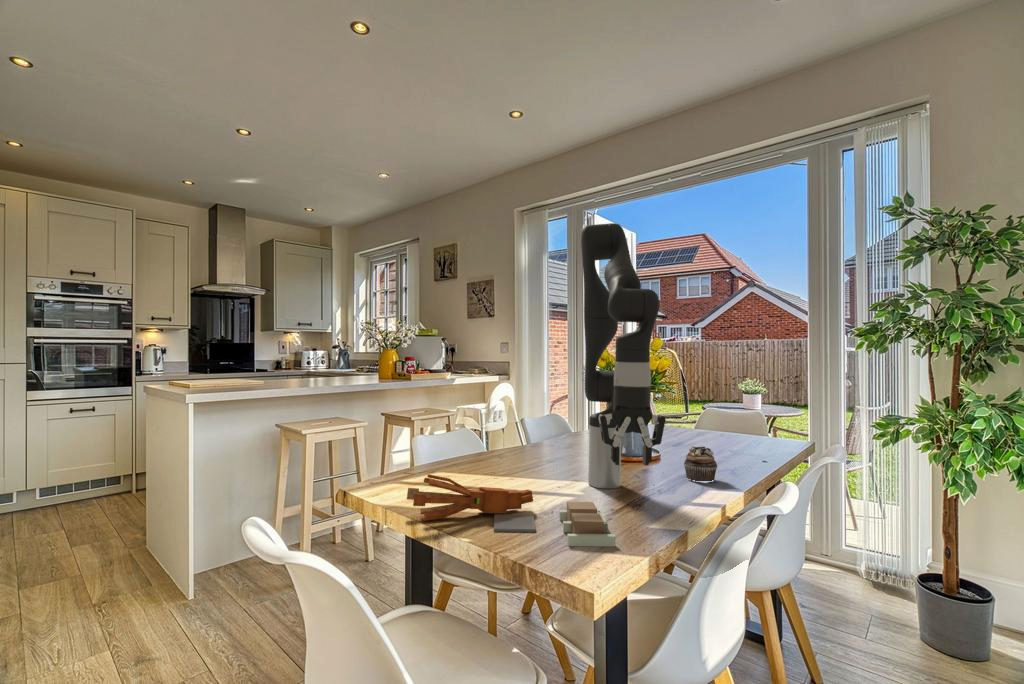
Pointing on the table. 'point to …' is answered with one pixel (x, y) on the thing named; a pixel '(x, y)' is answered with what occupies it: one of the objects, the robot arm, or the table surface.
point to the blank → (586, 523)
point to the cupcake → (700, 464)
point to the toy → (466, 499)
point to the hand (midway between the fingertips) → (630, 464)
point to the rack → (584, 538)
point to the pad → (514, 523)
